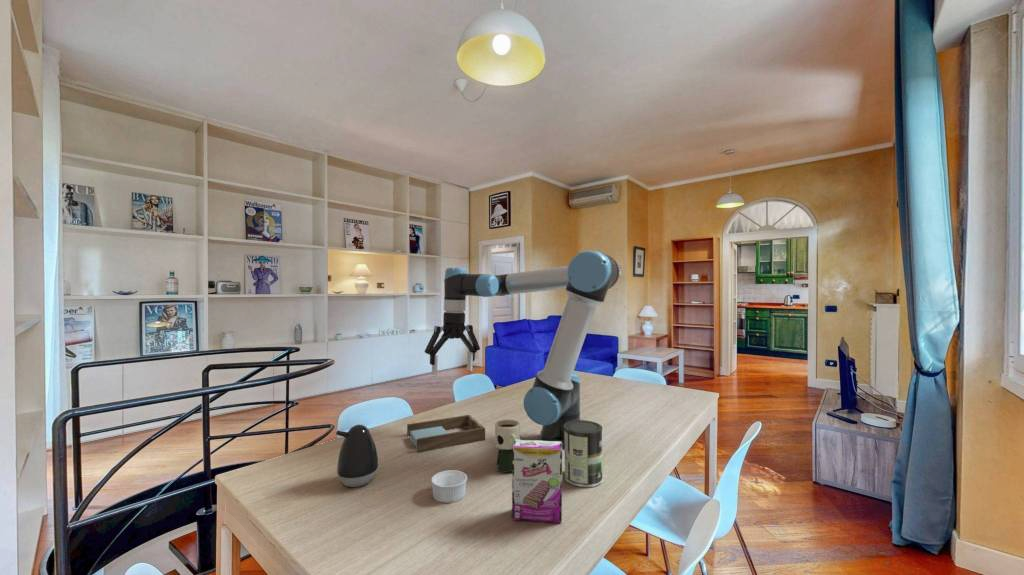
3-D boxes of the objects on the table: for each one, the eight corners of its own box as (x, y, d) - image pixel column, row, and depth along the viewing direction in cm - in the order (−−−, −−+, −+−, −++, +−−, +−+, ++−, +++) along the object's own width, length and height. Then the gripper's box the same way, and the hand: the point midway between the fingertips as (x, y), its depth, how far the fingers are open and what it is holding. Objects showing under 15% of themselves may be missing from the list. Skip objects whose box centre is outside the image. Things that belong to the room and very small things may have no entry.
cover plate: (449, 444, 130) (449, 435, 130) (416, 450, 125) (416, 440, 125) (441, 434, 139) (441, 426, 139) (410, 439, 134) (410, 431, 134)
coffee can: (598, 469, 111) (598, 419, 111) (606, 487, 100) (606, 433, 100) (561, 469, 111) (561, 419, 111) (566, 487, 100) (566, 432, 100)
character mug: (489, 463, 115) (489, 419, 115) (512, 459, 117) (512, 416, 117) (502, 480, 105) (502, 431, 105) (526, 475, 107) (526, 428, 107)
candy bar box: (511, 521, 86) (511, 447, 86) (513, 509, 91) (513, 438, 91) (562, 524, 85) (562, 448, 85) (562, 511, 90) (561, 440, 90)
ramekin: (435, 486, 102) (435, 469, 102) (469, 486, 101) (469, 469, 102) (427, 504, 93) (427, 486, 93) (464, 505, 93) (464, 486, 93)
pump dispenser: (336, 477, 106) (336, 421, 106) (376, 470, 110) (376, 416, 110) (335, 495, 97) (335, 434, 97) (379, 487, 101) (379, 428, 101)
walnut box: (485, 439, 133) (485, 428, 133) (417, 452, 123) (417, 439, 123) (469, 425, 147) (469, 414, 147) (407, 435, 137) (407, 424, 137)
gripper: (480, 310, 147) (478, 366, 147) (416, 311, 133) (414, 373, 133) (490, 312, 141) (488, 370, 141) (424, 313, 126) (422, 378, 127)
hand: (452, 372), depth 137 cm, fingers open, 13 cm apart
